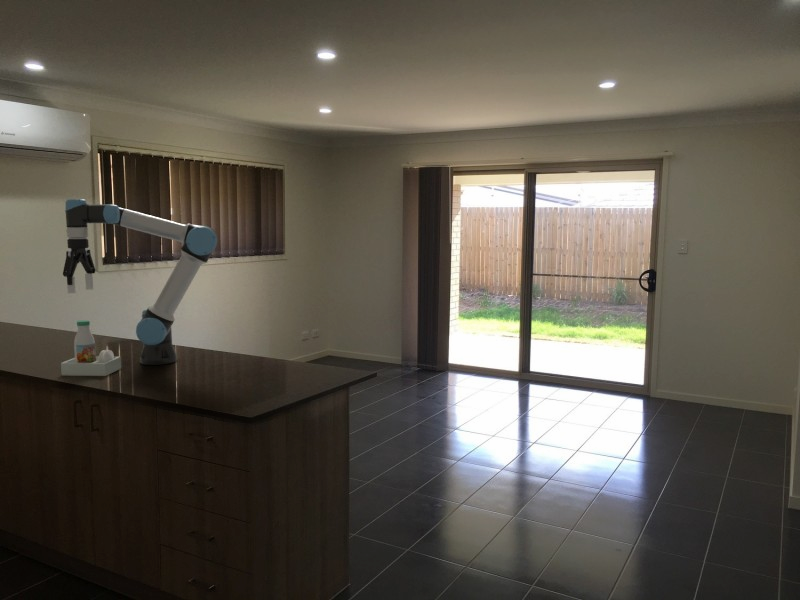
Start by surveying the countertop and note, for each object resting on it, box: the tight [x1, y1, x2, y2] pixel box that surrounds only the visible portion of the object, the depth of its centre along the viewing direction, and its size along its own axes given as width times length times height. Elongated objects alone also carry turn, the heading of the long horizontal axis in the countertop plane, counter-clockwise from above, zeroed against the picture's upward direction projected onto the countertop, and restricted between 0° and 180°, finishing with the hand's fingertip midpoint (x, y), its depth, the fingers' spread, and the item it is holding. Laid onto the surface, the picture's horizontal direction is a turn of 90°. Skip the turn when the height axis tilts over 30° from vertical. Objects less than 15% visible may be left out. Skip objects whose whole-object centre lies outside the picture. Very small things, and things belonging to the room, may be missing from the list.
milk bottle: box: [73, 319, 97, 363], centre depth 264 cm, size 8×8×20 cm
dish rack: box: [60, 349, 122, 377], centre depth 265 cm, size 13×18×9 cm
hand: (80, 291), depth 262 cm, fingers open, 13 cm apart
